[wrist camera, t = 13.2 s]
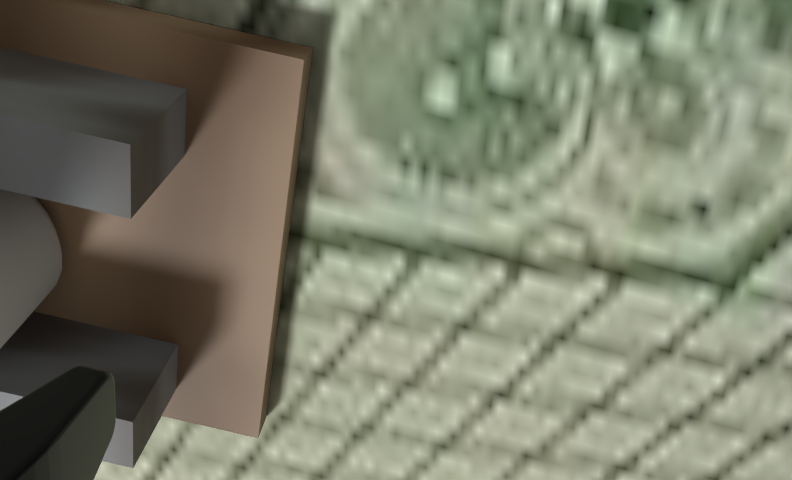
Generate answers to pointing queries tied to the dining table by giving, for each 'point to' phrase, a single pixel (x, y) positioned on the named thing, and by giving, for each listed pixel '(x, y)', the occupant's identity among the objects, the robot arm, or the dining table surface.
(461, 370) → the dining table surface
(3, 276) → the beverage can
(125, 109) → the vise
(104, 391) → the robot arm
